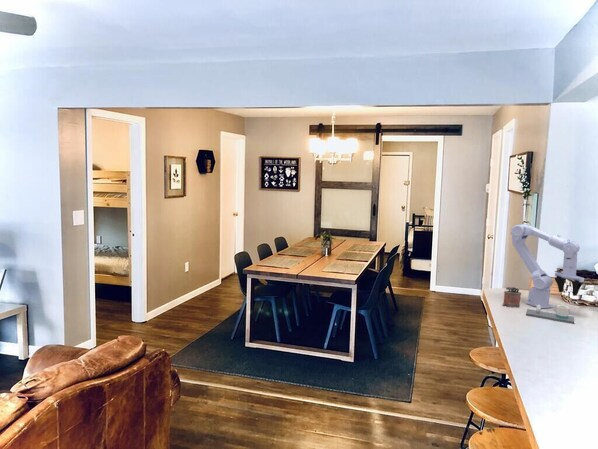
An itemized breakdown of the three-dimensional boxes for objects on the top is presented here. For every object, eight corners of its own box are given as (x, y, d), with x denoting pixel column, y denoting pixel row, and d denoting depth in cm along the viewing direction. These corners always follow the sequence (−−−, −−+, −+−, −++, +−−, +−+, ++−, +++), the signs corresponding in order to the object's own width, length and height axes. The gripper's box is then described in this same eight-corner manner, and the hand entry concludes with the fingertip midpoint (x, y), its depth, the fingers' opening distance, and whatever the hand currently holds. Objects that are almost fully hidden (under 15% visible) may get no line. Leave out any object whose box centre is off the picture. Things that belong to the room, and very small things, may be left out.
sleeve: (553, 315, 221) (554, 305, 220) (560, 315, 223) (561, 304, 222) (562, 319, 217) (564, 308, 216) (570, 318, 218) (571, 307, 218)
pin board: (525, 315, 223) (526, 305, 223) (527, 310, 231) (528, 301, 230) (574, 323, 213) (575, 313, 213) (573, 318, 221) (575, 308, 221)
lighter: (518, 305, 239) (520, 286, 238) (520, 307, 236) (522, 288, 235) (501, 304, 240) (503, 285, 239) (504, 306, 237) (506, 287, 235)
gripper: (551, 264, 235) (549, 290, 236) (577, 269, 221) (575, 297, 222) (561, 263, 237) (559, 289, 238) (588, 268, 224) (585, 296, 225)
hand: (567, 293), depth 231 cm, fingers open, 7 cm apart
